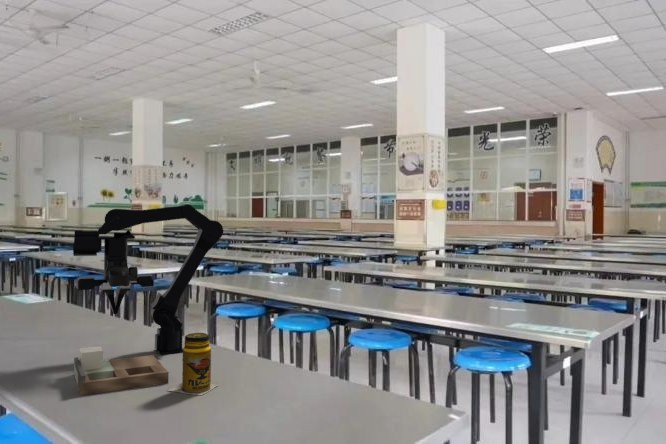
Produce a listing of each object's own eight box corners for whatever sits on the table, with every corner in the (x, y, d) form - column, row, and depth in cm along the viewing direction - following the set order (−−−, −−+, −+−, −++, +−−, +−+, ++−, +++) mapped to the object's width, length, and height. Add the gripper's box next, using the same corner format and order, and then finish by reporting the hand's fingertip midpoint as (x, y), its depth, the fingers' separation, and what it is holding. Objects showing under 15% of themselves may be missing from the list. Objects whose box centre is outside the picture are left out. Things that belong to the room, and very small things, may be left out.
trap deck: (152, 365, 137) (153, 349, 137) (168, 383, 123) (168, 365, 123) (74, 374, 128) (74, 357, 127) (81, 395, 114) (81, 376, 114)
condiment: (201, 396, 115) (202, 339, 115) (167, 391, 117) (167, 336, 117) (218, 385, 122) (219, 332, 122) (185, 381, 124) (186, 329, 124)
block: (100, 363, 129) (100, 346, 129) (102, 368, 125) (103, 350, 125) (79, 365, 126) (79, 348, 126) (81, 370, 122) (81, 353, 122)
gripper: (80, 259, 133) (79, 322, 133) (158, 257, 142) (157, 316, 143) (76, 255, 143) (75, 314, 143) (149, 254, 152) (148, 309, 152)
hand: (115, 314), depth 145 cm, fingers closed
